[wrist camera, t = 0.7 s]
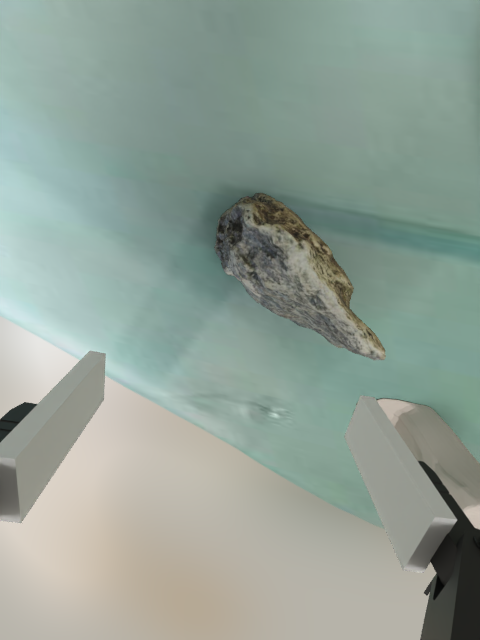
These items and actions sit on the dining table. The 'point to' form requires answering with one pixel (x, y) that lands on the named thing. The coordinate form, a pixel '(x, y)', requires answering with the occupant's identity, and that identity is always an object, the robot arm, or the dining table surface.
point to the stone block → (291, 272)
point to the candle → (438, 451)
